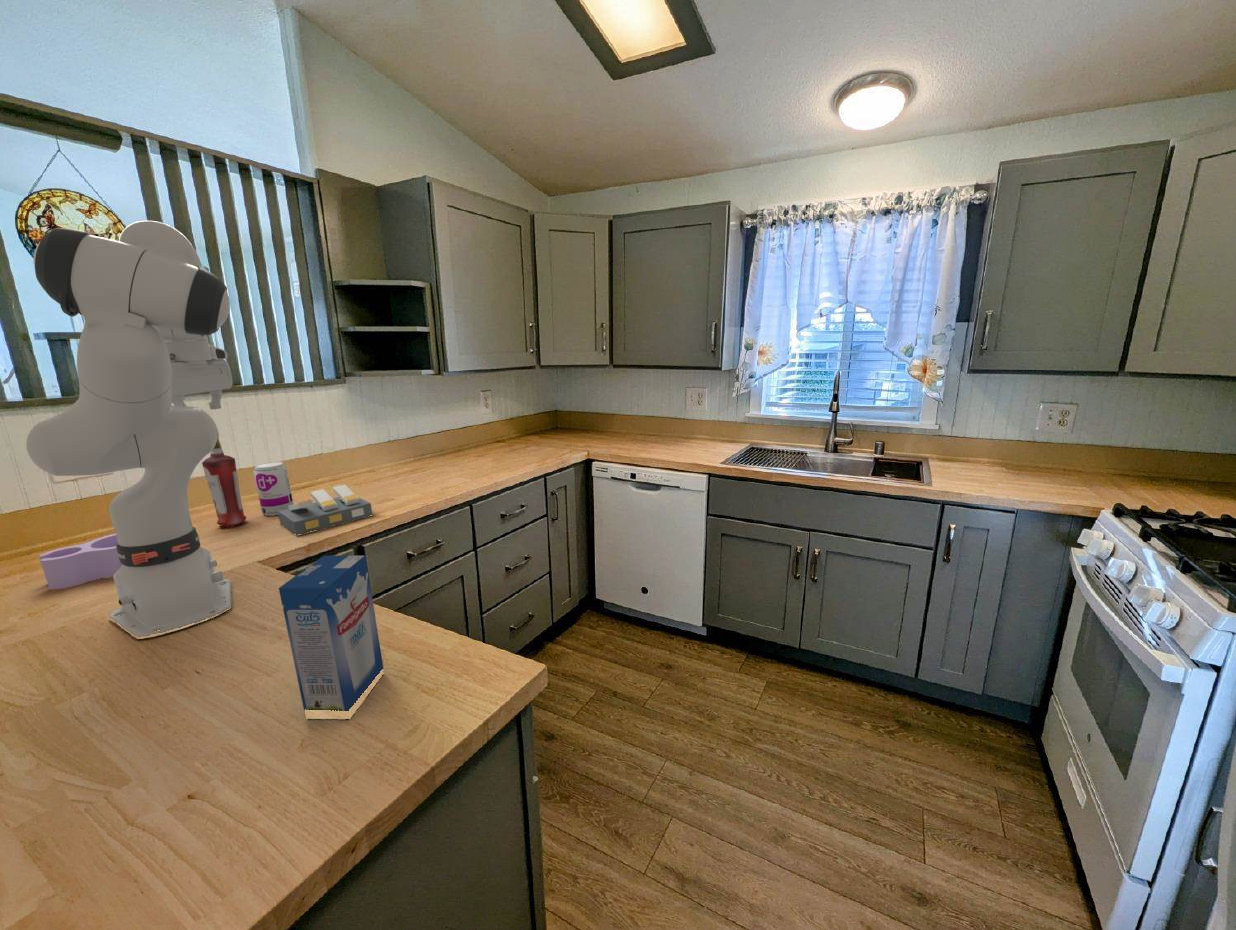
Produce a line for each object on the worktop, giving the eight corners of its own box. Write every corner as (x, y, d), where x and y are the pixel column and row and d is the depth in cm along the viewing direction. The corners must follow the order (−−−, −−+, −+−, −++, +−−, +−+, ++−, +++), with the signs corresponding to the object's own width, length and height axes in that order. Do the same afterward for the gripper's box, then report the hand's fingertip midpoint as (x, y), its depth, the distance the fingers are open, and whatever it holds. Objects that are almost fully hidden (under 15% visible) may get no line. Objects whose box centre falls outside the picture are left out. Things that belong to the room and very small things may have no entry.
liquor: (212, 526, 146) (190, 429, 139) (242, 518, 151) (221, 425, 144) (222, 531, 142) (199, 431, 135) (252, 523, 147) (232, 427, 140)
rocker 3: (359, 502, 150) (359, 498, 149) (346, 505, 147) (346, 501, 147) (345, 488, 155) (344, 484, 155) (332, 490, 153) (332, 486, 152)
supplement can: (283, 516, 152) (273, 467, 149) (256, 516, 152) (245, 468, 149) (300, 507, 160) (291, 461, 156) (274, 507, 160) (264, 461, 157)
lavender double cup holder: (51, 596, 107) (41, 565, 106) (47, 579, 115) (37, 550, 113) (173, 563, 122) (166, 536, 120) (162, 550, 130) (155, 524, 128)
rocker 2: (337, 507, 145) (337, 503, 145) (324, 510, 143) (323, 506, 142) (323, 492, 151) (323, 488, 150) (310, 495, 149) (310, 491, 148)
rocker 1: (313, 504, 140) (311, 499, 140) (299, 507, 138) (297, 502, 138) (303, 506, 147) (301, 501, 147) (289, 509, 145) (288, 504, 145)
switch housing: (373, 516, 151) (370, 500, 149) (297, 536, 136) (293, 519, 135) (353, 506, 160) (351, 491, 159) (280, 524, 146) (277, 508, 144)
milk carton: (345, 673, 80) (324, 555, 75) (384, 673, 79) (365, 554, 74) (305, 720, 70) (278, 588, 65) (350, 720, 70) (325, 587, 65)
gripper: (163, 354, 110) (179, 418, 113) (231, 351, 130) (243, 405, 133) (134, 355, 110) (150, 419, 113) (206, 352, 130) (219, 406, 133)
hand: (201, 412), depth 123 cm, fingers open, 8 cm apart
